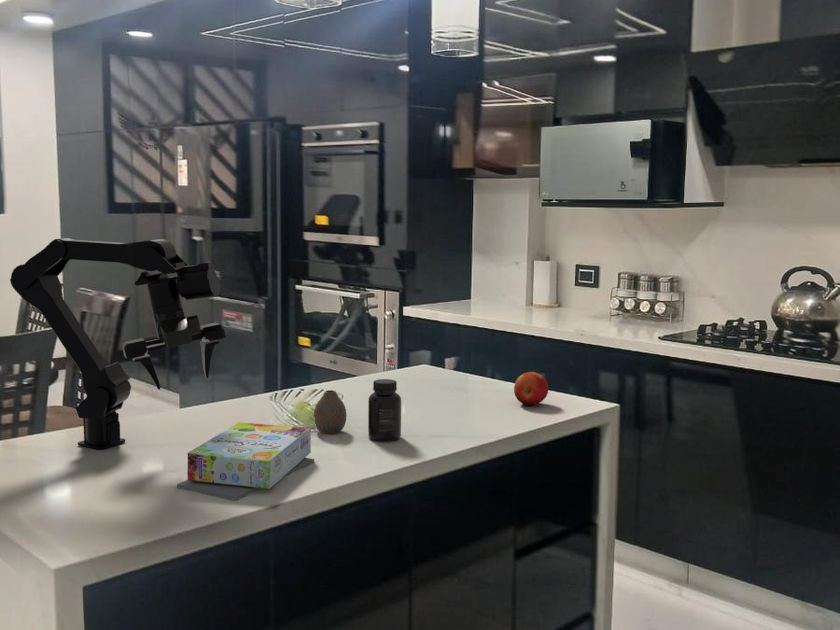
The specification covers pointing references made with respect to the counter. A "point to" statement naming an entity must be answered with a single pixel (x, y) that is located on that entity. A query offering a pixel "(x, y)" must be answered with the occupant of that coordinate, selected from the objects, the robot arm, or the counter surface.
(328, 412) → the vase
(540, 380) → the apple
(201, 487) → the mat
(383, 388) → the supplement bottle
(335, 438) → the counter surface
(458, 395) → the counter surface
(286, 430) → the snack box
